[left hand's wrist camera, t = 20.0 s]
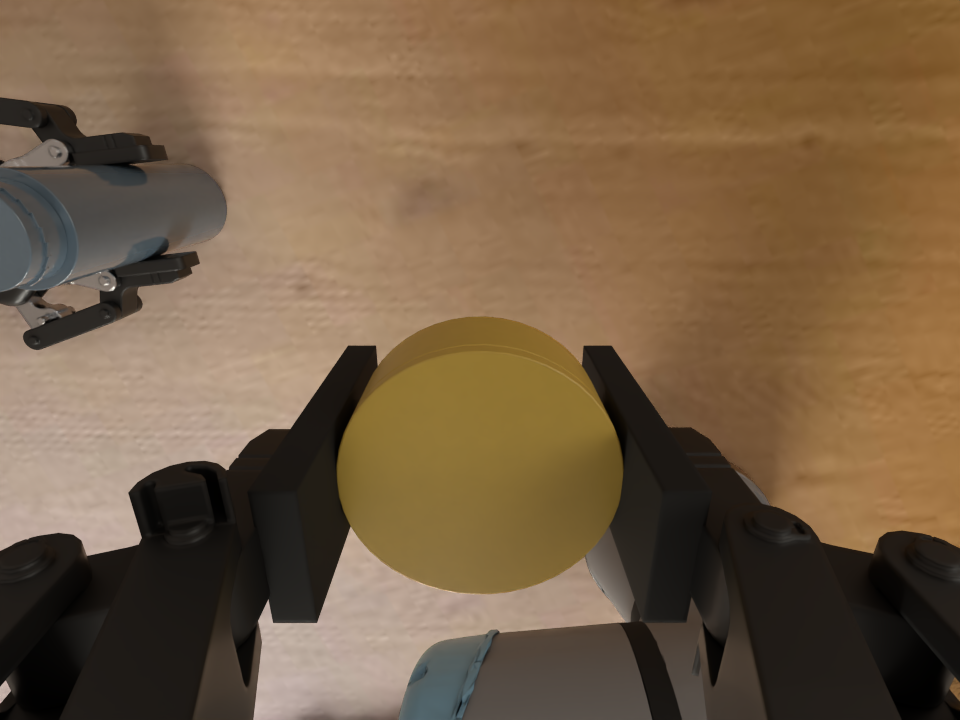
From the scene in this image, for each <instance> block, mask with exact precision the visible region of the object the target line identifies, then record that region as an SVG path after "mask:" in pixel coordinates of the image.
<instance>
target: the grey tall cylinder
mask: <svg viewBox="0 0 960 720" xmlns="http://www.w3.org/2000/svg"><path fill="white" fill-rule="evenodd" d="M226 215H227V207H226V201H225V198H224V195H223V193H222V191H221V189H220V187H219V186H218V184H217V183H216V182H215V180H214V179H213V178H212V177H211V176H210V175H208V174H207V173H206V172H204V171H203V170H201V169H199V168H197V167H195V166H192V165H188V164H125V165H66V166H10V167H0V292H3V291H7V290H11V289H14V288H19V289H25V290H36V291H37V290H46V289H50V288H53V287H57V286H60V285H63V284H67V283H70V282H73V281H77V280H80V279H83V278H86V277H90V276H93V275H96V274H100V273H103V272H106V271H109V270H113V269H116V268H119V267H123V266H126V265H129V264H133V263H136V262H139V261H142V260H146V259H149V258H152V257H156V256H159V255H162V254H165V253H169V252H172V251H175V250H179V249H182V248H185V247H189V246H192V245H195V244H198V243H202V242H205V241H208V240H210V239H212V238H214V237H215V236H216V235H217V234H218V233H219V232H220V231H221V229H222V228H223V226H224V224H225V220H226Z"/></svg>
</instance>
